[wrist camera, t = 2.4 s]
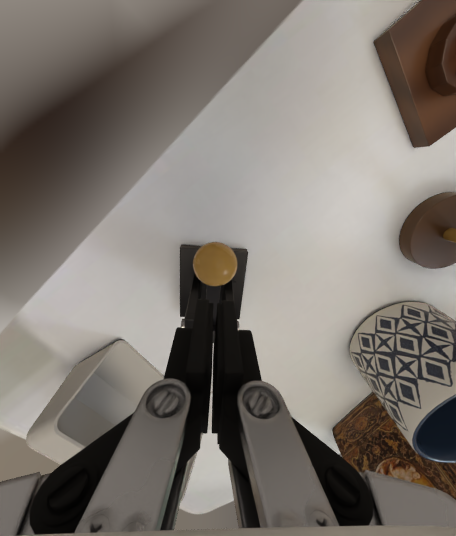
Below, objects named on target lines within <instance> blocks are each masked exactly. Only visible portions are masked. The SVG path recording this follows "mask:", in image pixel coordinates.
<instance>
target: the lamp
mask: <svg viewBox="0 0 456 536" xmlns="http://www.w3.org/2000/svg"><path fill="white" fill-rule="evenodd" d="M399 244H400V249H401V251H402V253H403V255H404V256H405V257H406V258H407V259H409V260H410V261H412V262H414V263H416V264H419V265H421V266H423V267H426V268H443V267H447V266H450V265H452V264H454V263H456V192H445V193H441V194H438V195H435V196H432V197H430V198H428V199H427V200H425V201H424V202H422V203H421V204H420V205H418V206H417V207H416V208H415V209H414V210H413V211H412V212H411V214H410V215H409V216H408V218H407V219H406V221H405V222H404V224H403V226H402V229H401V232H400V238H399Z"/></svg>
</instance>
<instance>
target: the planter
mask: <svg viewBox="0 0 456 536" xmlns="http://www.w3.org/2000/svg"><path fill="white" fill-rule="evenodd" d="M350 356H351V359H352V361H353V363H354V364H355V366H356V367H357V369H358V370H359V372H360V373H361V375H362V376H363V377H364V379H365V380H366V382H367V383H368V385H369V386H370V388H371V389H372V391H373V392H374V393H375V395H376V396H377V398H378V399H379V401H380V402H381V404H382V405H383V406H384V408H385V409H386V411H387V412H388V414H389V415H390V416H391V418H392V419H393V421H394V422H395V424H396V425H397V427H398V428H399V429H400V431H401V432H402V434H403V435H404V437H405V438H406V439H407V441H408V442H409V444H410V445H411V446H412V448H413V449H414V450H415V452H416V453H417V454H418V455H420V456H421V457H423V458H425V459H427V460H430V461H434V462H439V463H456V321H455V320H453V319H452V318H450V317H449V316H447V315H445V314H444V313H442V312H441V311H439V310H438V309H436V308H434V307H433V306H431V305H428V304H425V303H421V302H403V303H399V304H395V305H392V306H389V307H386V308H384V309H382V310H380V311H378V312H376V313H375V314H373V315H372V316H370V317H369V318H368V319H367V320H366V321H364V322H363V323H362V324H361V326H360V327H359V328H358V329H357V331H356V332H355V334H354V336H353V338H352V341H351V344H350Z"/></svg>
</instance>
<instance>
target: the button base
mask: <svg viewBox="0 0 456 536" xmlns="http://www.w3.org/2000/svg"><path fill="white" fill-rule="evenodd" d="M374 44H375V47H376V50H377V52H378V55H379V57H380V60H381V63H382V65H383V68H384V71H385V73H386V76H387V78H388V81H389V84H390V86H391V89H392V92H393V94H394V97H395V100H396V102H397V105H398V107H399V110H400V113H401V115H402V118H403V121H404V123H405V126H406V129H407V131H408V134H409V136H410V139H411V142H412V144H413V147H414V148H415V147H425V146H430V145H432V144H433V143H434V142H436V141H437V140H439V139H440V138H441V137H443V136H444V135H446V134H447V133H448V132H450V131H451V130H453V129H454V128H455V127H456V0H421V1H420V2H419V3H417V4H416V5H415V6H414V7H413V8H412V9H410V10H409V11H408V12H407V13H406V14H405V15H404V16H402V17H401V18H400V19H399V20H398V21H397V22H396V23H394V24H393V25H392V26H391V27H390V28H389V29H388V30H386V31H385V32H384V33H383V34H382V35H381V36H380V37H378V38H377V39H376V40H375V41H374Z"/></svg>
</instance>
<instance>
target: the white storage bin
mask: <svg viewBox="0 0 456 536" xmlns="http://www.w3.org/2000/svg"><path fill="white" fill-rule="evenodd" d="M163 379H164V376H163V375H162V374H161V373H160V372H159V371H158V370H157V369H156V368H155V367H154V366H153V365H151V364H150V363H149V362H148V361H147V360H146V359H145V358H144V357H143V356H142V355H140V354H139V353H138V352H137V351H136V350H135V349H134V348H133V347H132V346H131V345H129V344H128V343H127V342H126V341H124V340H119V341H116V342H115V343H113V344H111V345H110V346H108V347H106V348H105V349H103V350H101V351H99V352H98V353H96V354H94V355H93V356H91V357H89V358H88V359H86V360H84V361H82V362H81V363H79V364H77V365H76V366H75V367H74V368H73V369H72V371H71V372H70V374H69V375H68V376H67V378H66V379H65V381H64V382H63V383H62V385H61V386H60V388H59V389H58V390H57V392H56V393H55V395H54V396H53V397H52V399H51V400H50V402H49V403H48V404H47V406H46V407H45V409H44V410H43V411H42V413H41V414H40V416H39V417H38V418H37V420H36V421H35V423H34V424H33V425H32V427H31V428H30V430H29V431H28V434H27V438H26V441H27V445H28V446H29V447H30V448H31V449H33V450H35V451H37V452H38V453H40V454H42V455H44V456H46V457H48V458H50V459H51V460H53V461H55V462H57V463H59V464H63V463H64V462H66V461H67V460H68V459H70V458H71V457H72V456H74V455H75V454H77V453H78V452H79V451H81V450H82V449H84V448H85V447H86V446H88V445H89V444H91V443H92V442H93V441H95V440H96V439H98V438H99V437H100V436H102V435H103V434H105V433H106V432H107V431H109V430H110V429H112V428H113V427H114V426H116V425H117V424H119V423H120V422H121V421H123V420H124V419H126V418H127V417H128V416H130V415H131V414H133V413H134V412H135V410H136V408H137V406H138V404H139V402H140V400H141V398H142V396H143V394H144V393H145V391H146V390H147V389H148V388H149V387H150V386H151V385H152V384H154V383H156V382H158V381H159V380H163ZM202 435H203V433H201V438H202ZM200 441H201V440H200ZM197 452H198V451H197ZM197 452H196V453H195V454H194V455H193V457H192V458H191V459H190V460H189V464H188V469H187V474H186V478H185V483H184V487H183V492H182V496H181V501H182V500H183V498H184V495H185V492H186V489H187V485H188V482H189V479H190V475H191V472H192V468H193V465H194V462H195V458H196V455H197ZM181 501H180V503H181Z"/></svg>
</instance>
